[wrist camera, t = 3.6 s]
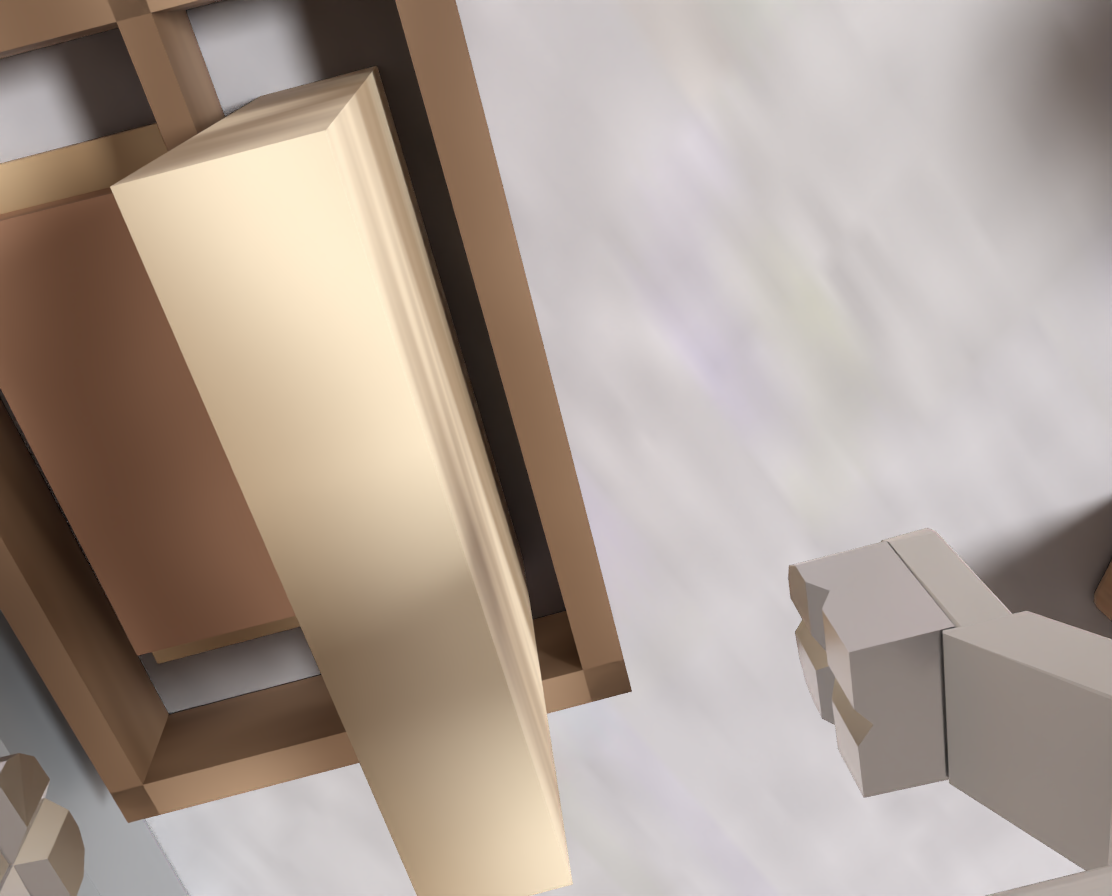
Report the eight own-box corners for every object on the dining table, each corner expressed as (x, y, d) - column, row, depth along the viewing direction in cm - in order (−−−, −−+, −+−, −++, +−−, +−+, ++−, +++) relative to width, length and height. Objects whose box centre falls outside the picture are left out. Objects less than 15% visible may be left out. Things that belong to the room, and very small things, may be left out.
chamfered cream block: (377, 65, 19) (326, 129, 10) (523, 558, 25) (572, 884, 16) (260, 95, 19) (110, 186, 10) (431, 582, 25) (428, 922, 16)
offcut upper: (148, 178, 19) (131, 188, 18) (310, 585, 24) (304, 613, 23) (-48, 226, 19) (-76, 240, 18) (151, 625, 24) (137, 655, 23)
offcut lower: (171, 116, 20) (156, 123, 19) (355, 586, 25) (352, 612, 24) (-64, 178, 20) (-92, 188, 19) (169, 635, 25) (158, 664, 24)
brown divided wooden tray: (423, -116, 18) (422, -130, 16) (614, 630, 26) (631, 691, 24) (-230, 55, 18) (-324, 65, 16) (154, 750, 26) (127, 823, 24)
